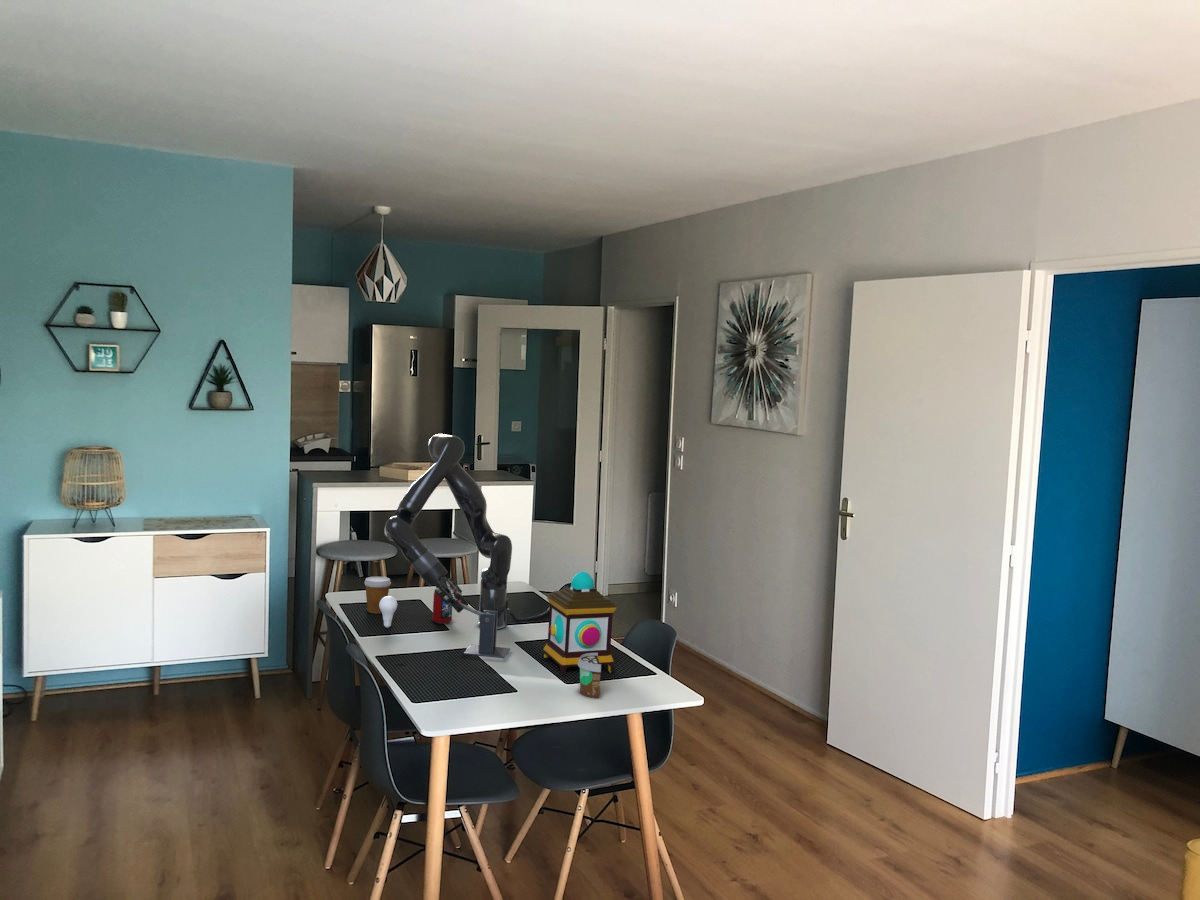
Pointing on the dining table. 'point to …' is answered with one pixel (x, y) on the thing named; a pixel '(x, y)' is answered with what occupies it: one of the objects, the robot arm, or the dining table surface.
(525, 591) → the dining table surface
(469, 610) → the lever
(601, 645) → the decorative lantern
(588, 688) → the food container
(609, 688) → the dining table surface
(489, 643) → the bracket
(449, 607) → the beverage can
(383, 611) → the lightbulb
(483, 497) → the robot arm
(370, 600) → the disposable coffee cup
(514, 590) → the dining table surface
